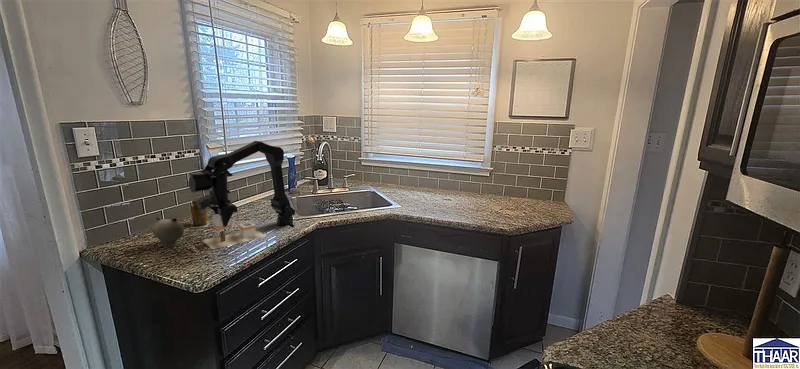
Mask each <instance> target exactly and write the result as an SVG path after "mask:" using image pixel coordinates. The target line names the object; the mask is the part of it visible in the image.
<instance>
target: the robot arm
mask: <svg viewBox="0 0 800 369" xmlns="http://www.w3.org/2000/svg"><path fill="white" fill-rule="evenodd" d="M258 152H259V153H262V154H263V155H265V160H266V161H267V163H268V165H269V166H270V173H271V179H272V186H273V187H272V188H273V193H274V195H273V197H272V198H270V203H271V204H270V207H271V208H272V209H273V211H274V212H275V213H276V214H277V217H276V225H277V226H279V227H287V226H288V227H290V228H293V227H295V226H296V225H295V224H294V217H293V216H295V214H296V209H294V208H293V206H291V203H290V199H289V197H288V196H287V195H286V191H285V190H286V189H285V182H284V181H285V180H284V174H283V166H282V165H283V162H284V161H285V159H284V158H285V151H284V149H283V148H282V147H280V146H276V145H270V144H268V143H265V142H263V141H260V140H259V141H258V140H254V141H251V142H250V143H249V144H246V145H243V146H242V147H239V148H238V149H237V148H236V149H235V150H233V151H231V152H228V153H222V154H217V155H214V156H213V155H212V156H211V157H209V158H208V161H207V164H206V165H205V167H204V169H203V170H202V172H201V173H191V174H190V177H189V179H188V182H187V183H188V188H189V190H190V192H192V193H195V192H201V191H209V194H207V195H204V196H202V197H199V198H197V200H196V199H195V200H196V203H197V205H198V206H199V208H201V209H202V210H203V209H206V208H209V209H211V210H212V211H213V213H214V215H216V214H220V215H221V219H222V223H223V226H224V227H226V226H227V224H228V222H229V220H231V219H232V216H233V214H234V213H237V212H238V209H239V208H238V206H237V205H235V204H234V203H231V199H229V194H231V190H230V189H229V185H228V184H229V183H228V182H229V181H228V178H229V177H233V173H231V172H230V171H229V170H230V169H231V168H232V167H233V166H234V165H235V164H236V163H238V162H240V161H242V160H243V159H245V158H247V157H249V156H252V155H254V154H256V153H258Z"/></svg>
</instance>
